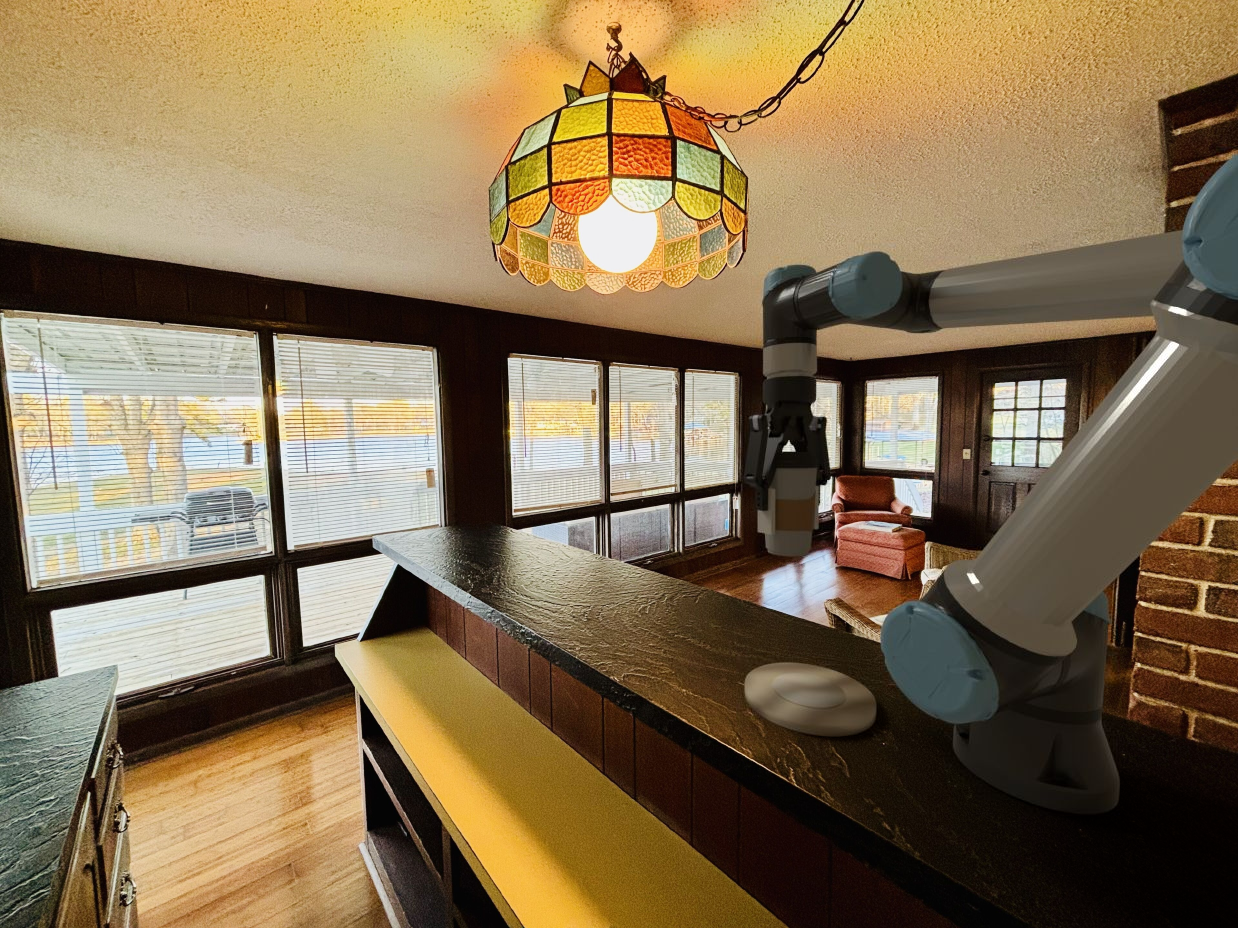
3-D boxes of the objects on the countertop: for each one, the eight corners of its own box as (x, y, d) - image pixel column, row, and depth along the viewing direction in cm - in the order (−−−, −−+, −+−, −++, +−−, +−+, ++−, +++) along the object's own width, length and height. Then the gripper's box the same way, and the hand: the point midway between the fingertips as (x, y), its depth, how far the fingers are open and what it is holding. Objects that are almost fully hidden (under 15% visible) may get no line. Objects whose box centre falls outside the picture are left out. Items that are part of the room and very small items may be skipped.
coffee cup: (823, 559, 72) (823, 452, 72) (761, 557, 74) (761, 452, 73) (812, 547, 80) (813, 451, 80) (757, 545, 82) (757, 451, 81)
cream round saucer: (904, 714, 72) (904, 702, 72) (813, 751, 64) (814, 738, 63) (803, 662, 88) (803, 653, 88) (719, 687, 79) (719, 676, 79)
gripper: (817, 383, 84) (816, 521, 85) (716, 376, 74) (716, 532, 75) (858, 378, 78) (857, 527, 79) (753, 369, 68) (753, 541, 69)
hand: (788, 530), depth 77 cm, fingers closed on coffee cup, 8 cm apart
